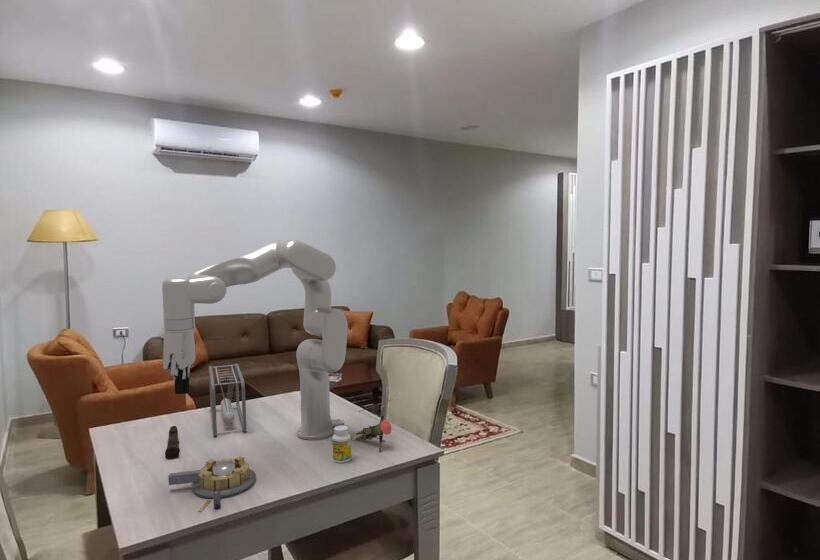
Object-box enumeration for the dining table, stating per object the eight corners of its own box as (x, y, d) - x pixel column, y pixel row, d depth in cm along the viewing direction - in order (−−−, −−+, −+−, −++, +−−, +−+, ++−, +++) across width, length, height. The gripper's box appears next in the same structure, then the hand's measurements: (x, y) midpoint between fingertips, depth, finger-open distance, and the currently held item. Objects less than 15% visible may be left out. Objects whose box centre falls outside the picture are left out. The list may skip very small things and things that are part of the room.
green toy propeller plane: (368, 464, 167) (411, 453, 154) (344, 457, 161) (386, 446, 149) (372, 415, 176) (413, 401, 163) (349, 408, 170) (390, 393, 158)
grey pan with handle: (250, 466, 145) (249, 453, 145) (247, 487, 133) (246, 472, 133) (174, 475, 140) (173, 461, 140) (164, 497, 128) (163, 482, 128)
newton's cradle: (246, 433, 173) (244, 381, 172) (213, 438, 169) (211, 385, 168) (239, 407, 201) (237, 362, 199) (210, 410, 197) (208, 364, 195)
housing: (257, 467, 147) (256, 450, 147) (253, 505, 127) (252, 485, 126) (197, 474, 143) (196, 456, 143) (183, 514, 123) (182, 493, 122)
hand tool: (179, 459, 154) (179, 443, 154) (165, 461, 153) (164, 445, 152) (183, 436, 172) (182, 423, 172) (170, 438, 171) (169, 424, 170)
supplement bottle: (354, 456, 154) (353, 425, 153) (346, 464, 149) (345, 432, 148) (337, 454, 155) (336, 423, 155) (329, 462, 150) (328, 430, 150)
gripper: (176, 320, 143) (179, 385, 145) (152, 329, 129) (155, 402, 130) (204, 320, 144) (206, 385, 145) (182, 329, 129) (185, 401, 130)
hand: (182, 392), depth 137 cm, fingers closed
